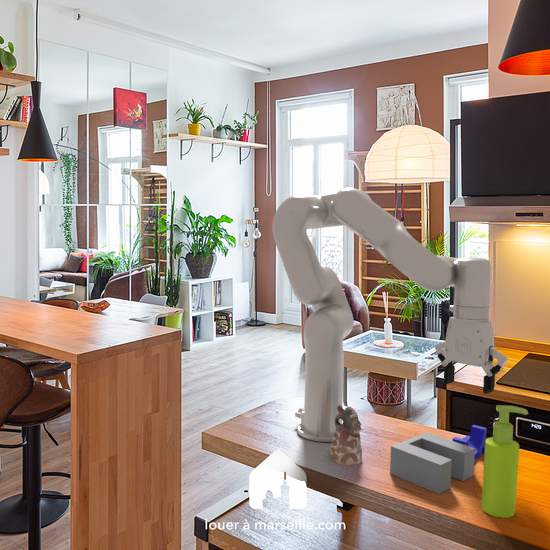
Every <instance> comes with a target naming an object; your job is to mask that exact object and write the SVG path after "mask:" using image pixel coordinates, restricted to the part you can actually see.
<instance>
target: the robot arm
mask: <svg viewBox="0 0 550 550" xmlns="http://www.w3.org/2000/svg"><path fill="white" fill-rule="evenodd" d="M271 225H272V229H271V230H272V235H273V236H272V237H273V239H274V243H275V246H276V248H277V251H278V254H279V256H280V258H281V260H282V264H283V267H284V270H285V273H286V275H287V277H288V281H289V283H290V287H291V289H292V291H293V294H294V296H295V298H296V299H297V301H298V302H299V303H300V304H303V305H305V306H311V307H312V309H313V312H311V314H310V315H309V316H308V317H307V319H306V321H305V324H304V327H303V341H304V350H305V351H304V352H305V353H304V355H305V356H304V357H305V363H304V365H305V367H304V373H305V374H304V377H305V378H304V379H305V380H304V404H303V405H304V407H299V409H298V411H296V412H295V413H294V415H295V418H299V419H300V423H299V424H298V425H297V434H298V435H299V436H300V437H302V438H304V439H306V440H310V441H313V442H321V443H329V442H330V443H332V440H333V436H334V433H335V430H336V426H335V418H336V416H337V415H338V414H339V412H338V410H337V406H339V405H341V407H342V408H343V406H344V405H343V400H344V377H345V376H344V375H345V372H344V371H345V370H344V367H345V361H344V360H345V358H344V356H345V355H344V345H343V344H344V339H346V338H347V337H348V336H349V334H351V332H352V330H353V328H354V322H355V321H354V316H353V315H354V314H353V312H352V310H351V307H350V303H349V301H348V299H347V296H346V294H345V291H344V288H343V285H342V283H341V281H340V278H339V277H338V275H337V274H336V272H335V271H334V270H333V269H332V268H330V267H329V266H327V265H323V264H321V263H320V260H319V258H318V256H317V253H316V249H315V247H314V245H313V243H312V241H311V240H310V238H309V235H308V233H307V232H308V231H307V230H312V229H313V230H314V229H315V230H316V229H322V228H324V229H325V228H333V227H340V226H345V227H346V228H347V229H349V230H350V231H351V232H352V233H354V234H355V235H357V236H358V237H359V238H360V239H362V240H364V241H365V242H366V243H367V244H368V245H370V246H371V247H372V248H374V249H375V251H376V252H378V253H379V254H380V255H381V256H382V257H384V258H385V260H387V261H388V262H389V263H390V264H391V265H393V267H395V268H396V269H397V270H398V271H399V272H401V273H402V274H404V276H406V277H407V278H408V279H409V280H411V281H412V282H413V283H415V284H416V285H418V286H419V287H420V288H422V289H424V290H426V291H429V292H434V293H436V292H441V291H442V290H445V289H446V288H449V287H453V289H454V292H453V293H454V294H453V305H449V308H448V309H449V312H451V313H452V315H453V316H450V317H449V320H448V325H447V328H446V333H445V341H444V342H441V343H439V344H436V345H434V350H435V351H436V354H437V359H438V360H439V361H440V362H441V366H442V367H443V379H444V382H443V383H444V385H449V384H452V383H454V382H455V375H456V374H455V373H456V371H455V370H456V369H455V368H456V367H455V365H454V363H457V364H463V365H467V366H473V367H479V368H480V367H481V368H482V370H483V371H484V373H485V374H486V375H484V376H483V384H482V385H483V388H482V392H483V394H486V395H488V394H491V393H493V392H494V390H495V383H496V375H497V374H498V373H500V372H501V371H503V369H504V367H505V366H506V364H507V362H508V357H507V356H505V355H504V354H503V353H501V352H500V351H499V350H497V349H496V348H495V338H494V328H493V324H492V320H490V319H489V318H490V298H491V297H490V296H491V279H492V278H491V277H492V276H491V274H492V264H491V261H490V260H489V259H486V258H481V257H460V258H459V257H452V256H451V257H450V256H447V255H436V254H435V253H433V252H432V251H431V250H430V249H428V248H426V247H425V246H424V245H423V244H422V243H420V242H419V241H417V240H416V239H415V238H414V237H413V236H412V235H411V234H410V232H408V230H407V228H406V226H405V225H404V224H403V223H402V222H401V221H400V220H399V219H397V217H395V216H394V215H392V214H391V213H390V212H388V211H386V210H385V209H384V208H382V207H381V206H380V205H378V204H377V203H376V202H375V201H373V200H372V198H371V196H370V195H369V194H368V193H367V192H366V191H364V190H362V189H358V188H354V187H346V188H343V189H340V190H338V191H337V192H336V193H335V192H334V193H329V194H319V195H311V194H304V193H303V194H301V193H300V194H294V195H291V196H289V197H287V198H286V199H284V200H283V201H282V202H281V203H280V205H279V206H278V207H277V210H276V211H275V214H274V216H273V220H272V224H271ZM494 359H496V360H497V363H496V365H494V363H493V362H494ZM339 423H340V424H343V420H342V419H339Z"/></svg>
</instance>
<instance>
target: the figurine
mask: <svg viewBox="0 0 550 550" xmlns="http://www.w3.org/2000/svg"><path fill="white" fill-rule="evenodd" d="M337 410H338V412H339V414H338V415H337V416H336V418H335V426H336V430H335V433H334V436H333V440H332V442H331V445H330V451H329V453H330V459H331V460H332V462H334V463H336V464H339V465H341V466H343V465H345V466H351V465H352V466H353V465H354V466H355V465H359V464H361V463H362V462H363V460H362V459H363V458H362V457H363V456H362V455H363V448H362V443H361V441H362V440H361V435H360V434H361V433H360V431H361V430H362V423H361V422H360V419H359V415H358V413H357V411H356V410H355V409H354V408H353V407H351V406H347V407H345V409H344V408H343V406H342V407H341V405H339V406H337ZM339 419H342V424H340V423H339Z"/></svg>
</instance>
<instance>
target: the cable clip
mask: <svg viewBox="0 0 550 550" xmlns="http://www.w3.org/2000/svg"><path fill="white" fill-rule="evenodd" d="M487 429H488V428H487V427H483V426H479V425H476V424H473V425H472V426H471V427H470V435H465V436H463V437H462V438H461V437H458V436H457V437H456V436H455V437H453V438H451V439H452V440H451V441H454V442H457V443H460V444H463V445H466V446H469V447H472V448H475V457H474V461H476V460H477V459H478V458H480V457H481V456H483V454H485V441H486V439H487V431H488V430H487Z"/></svg>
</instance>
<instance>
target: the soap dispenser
mask: <svg viewBox="0 0 550 550" xmlns="http://www.w3.org/2000/svg"><path fill="white" fill-rule="evenodd" d="M495 406H496V407H495V409H496V412H498V413H499V414H498V420H496V421H494V423H493V426H492V427H493V432H492V436H489V437H486V441H485V453H484V457H483V458H484V459H483V461H484V462H483V474H482V491H481V492H482V493H481V505H480V506H481V509H482V511H483V512H484V513H486V514H487V513H488V514H487V515H489V514H490V515H489V516H493V517H496V518H500V517H501V518H500V519H509V518H513V517H514V516H515V514H516V500H517V484H518V471H519V459H520V458H519V457H520V456H519V455H520V444H519V442H518V441H515V440H514V439H513V434H514V425H513V424H512V423H511V422H509V421H510V413H517V414H521V415H524V416H527V415H528V414H529V412H528V410H527V409H526V408H523V407H519V406H515V405H504V404H502V405H500V404H498V405H497V404H496V405H495Z"/></svg>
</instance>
